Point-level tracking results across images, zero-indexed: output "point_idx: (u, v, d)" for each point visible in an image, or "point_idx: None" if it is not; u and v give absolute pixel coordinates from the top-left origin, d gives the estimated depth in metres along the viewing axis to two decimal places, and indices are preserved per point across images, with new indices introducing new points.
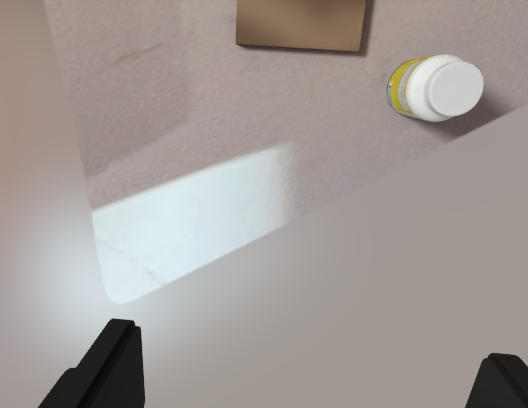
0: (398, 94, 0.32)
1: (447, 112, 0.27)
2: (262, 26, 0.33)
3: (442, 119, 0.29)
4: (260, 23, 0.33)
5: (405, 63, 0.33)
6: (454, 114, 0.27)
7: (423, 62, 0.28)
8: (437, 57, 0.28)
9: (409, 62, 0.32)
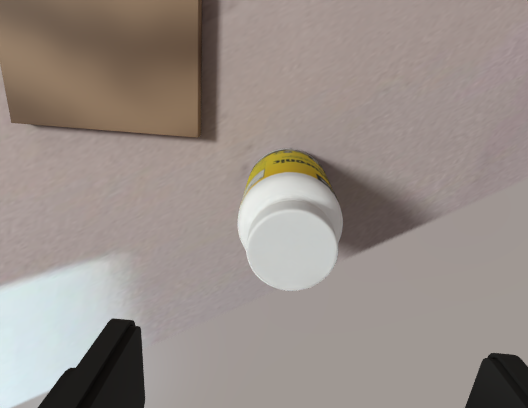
0: None
1: (281, 285, 0.15)
2: (46, 99, 0.22)
3: None
4: (42, 94, 0.21)
5: (265, 159, 0.22)
6: (293, 288, 0.15)
7: (257, 185, 0.17)
8: (276, 181, 0.16)
9: (266, 161, 0.21)
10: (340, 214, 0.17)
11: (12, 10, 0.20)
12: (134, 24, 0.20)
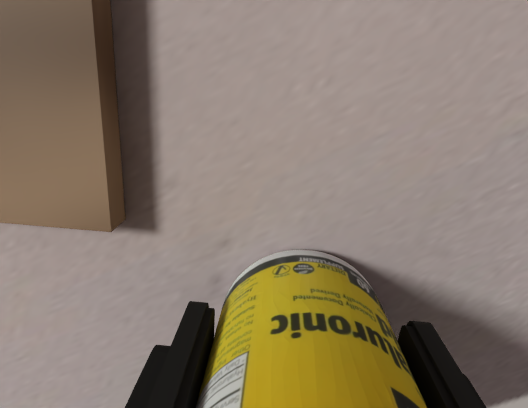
0: None
1: None
2: None
3: None
4: None
5: (254, 285, 0.10)
6: None
7: None
8: None
9: (254, 301, 0.09)
10: None
11: None
12: None
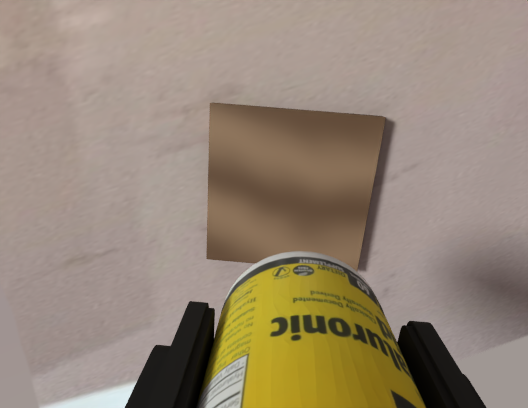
0: None
1: None
2: (238, 243, 0.27)
3: None
4: (236, 239, 0.27)
5: (253, 286, 0.10)
6: None
7: None
8: None
9: (254, 302, 0.09)
10: None
11: (225, 183, 0.25)
12: (320, 194, 0.25)
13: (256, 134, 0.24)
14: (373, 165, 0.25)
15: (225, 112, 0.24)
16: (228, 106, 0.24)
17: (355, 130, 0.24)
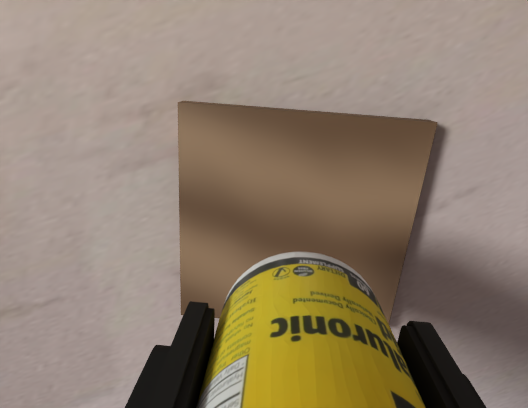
0: None
1: None
2: (224, 294, 0.20)
3: None
4: (221, 290, 0.20)
5: (253, 287, 0.10)
6: None
7: None
8: None
9: (254, 303, 0.09)
10: None
11: (204, 215, 0.18)
12: (338, 230, 0.18)
13: (246, 147, 0.17)
14: (416, 191, 0.17)
15: (201, 115, 0.16)
16: (205, 106, 0.16)
17: (391, 141, 0.16)
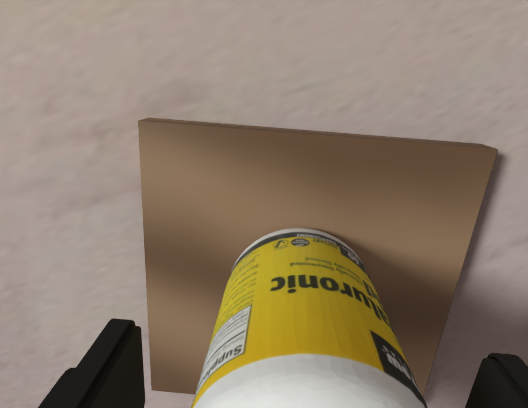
0: None
1: None
2: None
3: None
4: (202, 362, 0.15)
5: (256, 256, 0.11)
6: None
7: (226, 388, 0.06)
8: (274, 395, 0.06)
9: (257, 268, 0.10)
10: None
11: (178, 268, 0.14)
12: None
13: (233, 181, 0.12)
14: (463, 240, 0.13)
15: (170, 138, 0.12)
16: (176, 126, 0.12)
17: (432, 174, 0.12)
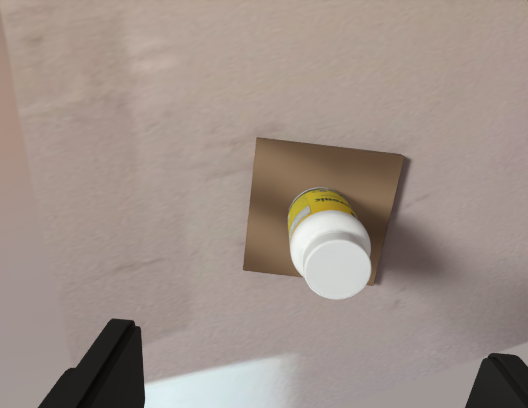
0: None
1: (328, 295, 0.21)
2: (272, 257, 0.31)
3: None
4: (270, 254, 0.31)
5: (305, 196, 0.27)
6: (337, 297, 0.21)
7: (308, 219, 0.23)
8: (323, 217, 0.22)
9: (307, 198, 0.27)
10: (369, 243, 0.23)
11: (264, 205, 0.30)
12: None
13: (294, 165, 0.28)
14: (392, 195, 0.29)
15: (269, 146, 0.28)
16: (272, 142, 0.28)
17: (378, 165, 0.28)
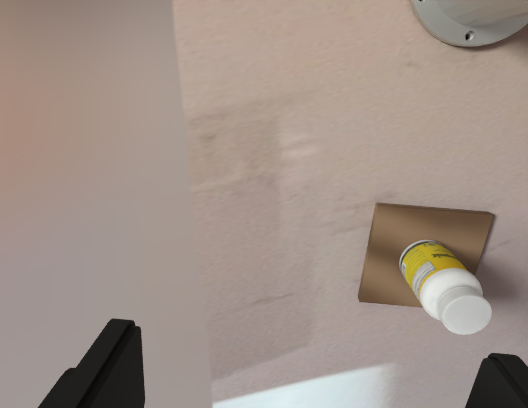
0: (412, 285, 0.34)
1: (458, 332, 0.30)
2: (383, 291, 0.40)
3: None
4: (382, 289, 0.40)
5: (418, 249, 0.36)
6: (465, 333, 0.30)
7: (436, 275, 0.31)
8: (449, 274, 0.31)
9: (422, 252, 0.35)
10: (482, 291, 0.31)
11: (380, 253, 0.38)
12: None
13: (406, 224, 0.37)
14: (482, 243, 0.37)
15: (387, 211, 0.37)
16: (390, 207, 0.36)
17: (472, 222, 0.37)
